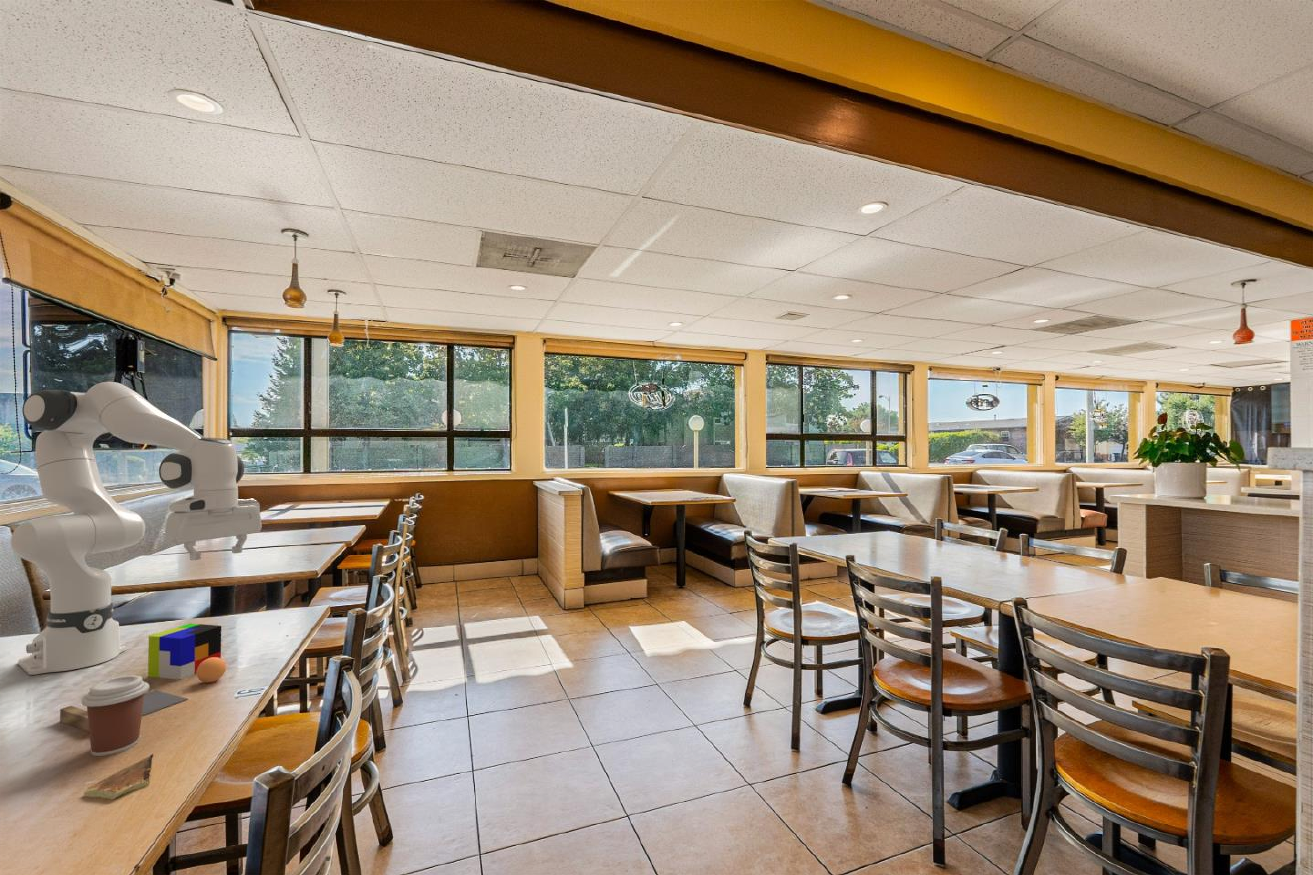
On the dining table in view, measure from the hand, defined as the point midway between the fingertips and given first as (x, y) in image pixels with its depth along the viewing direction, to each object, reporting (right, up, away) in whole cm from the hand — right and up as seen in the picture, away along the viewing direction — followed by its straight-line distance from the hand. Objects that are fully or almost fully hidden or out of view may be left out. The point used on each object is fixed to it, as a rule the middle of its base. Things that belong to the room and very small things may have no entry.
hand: (216, 556), depth 139 cm
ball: (+4, -26, -6) cm, 27 cm away
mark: (-2, -29, -19) cm, 35 cm away
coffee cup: (+9, -28, -35) cm, 46 cm away
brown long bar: (-5, -28, -28) cm, 40 cm away
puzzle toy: (-9, -29, +1) cm, 31 cm away
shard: (+21, -29, -47) cm, 59 cm away
